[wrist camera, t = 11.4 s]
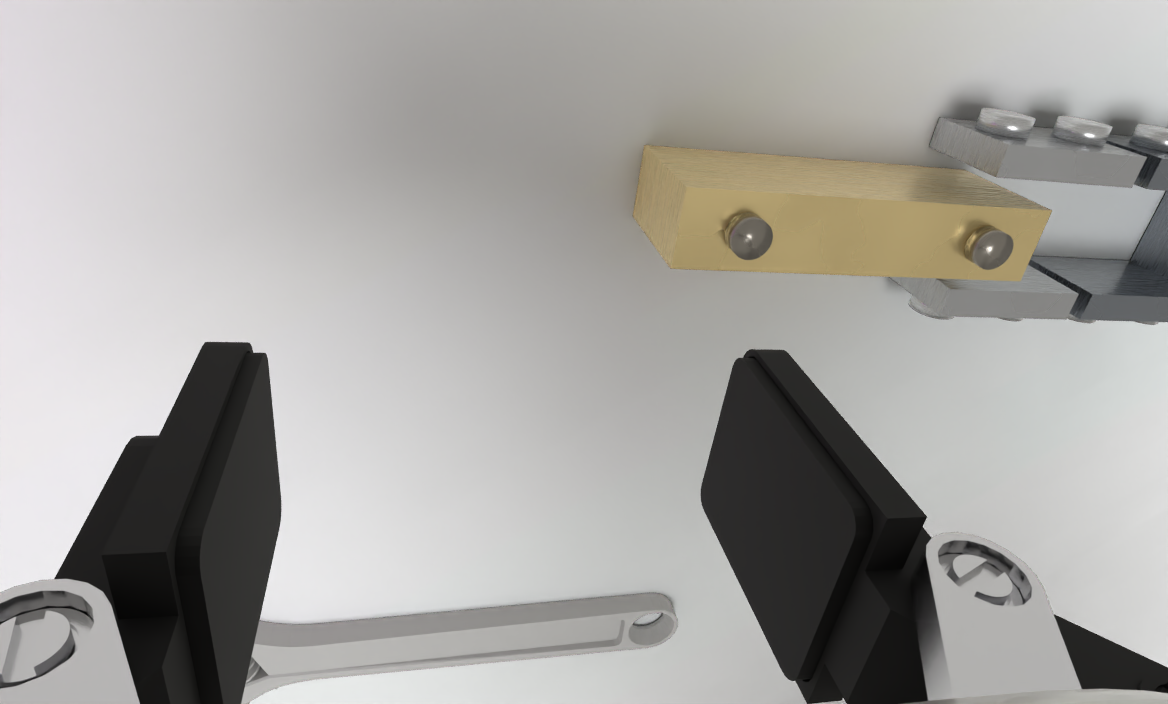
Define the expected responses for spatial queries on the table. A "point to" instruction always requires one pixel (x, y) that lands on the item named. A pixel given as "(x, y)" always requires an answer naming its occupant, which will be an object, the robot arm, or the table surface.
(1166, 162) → the chain end dark
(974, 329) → the table surface
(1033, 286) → the chain end grey
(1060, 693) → the robot arm
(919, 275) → the master link
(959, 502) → the table surface
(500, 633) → the adjustable wrench
